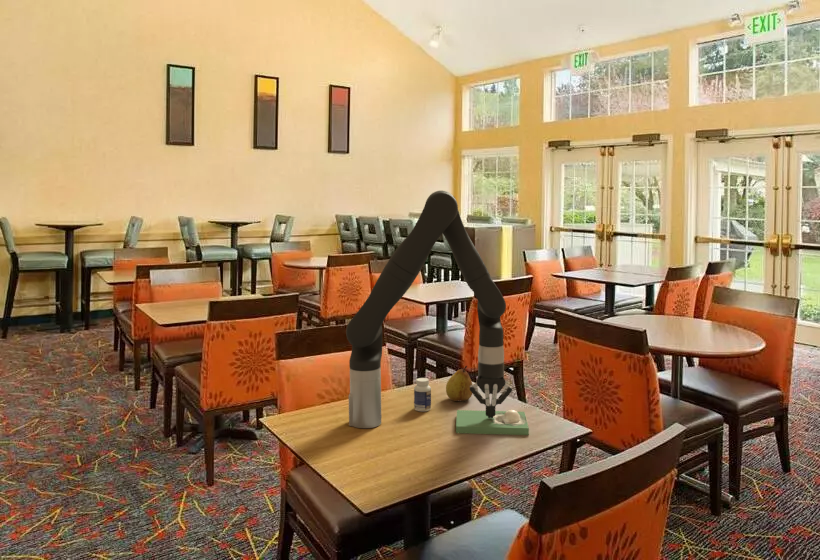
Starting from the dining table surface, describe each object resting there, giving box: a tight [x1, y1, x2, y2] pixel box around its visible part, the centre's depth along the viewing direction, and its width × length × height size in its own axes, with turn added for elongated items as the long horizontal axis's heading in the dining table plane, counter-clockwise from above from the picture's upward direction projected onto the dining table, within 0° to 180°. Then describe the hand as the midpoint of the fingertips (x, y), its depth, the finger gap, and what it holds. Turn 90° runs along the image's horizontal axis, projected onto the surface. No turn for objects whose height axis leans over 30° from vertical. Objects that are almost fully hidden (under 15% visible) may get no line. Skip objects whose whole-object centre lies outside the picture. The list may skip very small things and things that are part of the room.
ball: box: [503, 409, 520, 424], centre depth 185 cm, size 5×5×5 cm
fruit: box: [445, 365, 473, 402], centre depth 210 cm, size 9×9×12 cm
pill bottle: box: [413, 377, 432, 413], centre depth 200 cm, size 5×5×10 cm
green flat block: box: [455, 409, 530, 436], centre depth 186 cm, size 21×14×2 cm
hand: (490, 417), depth 186 cm, fingers closed
